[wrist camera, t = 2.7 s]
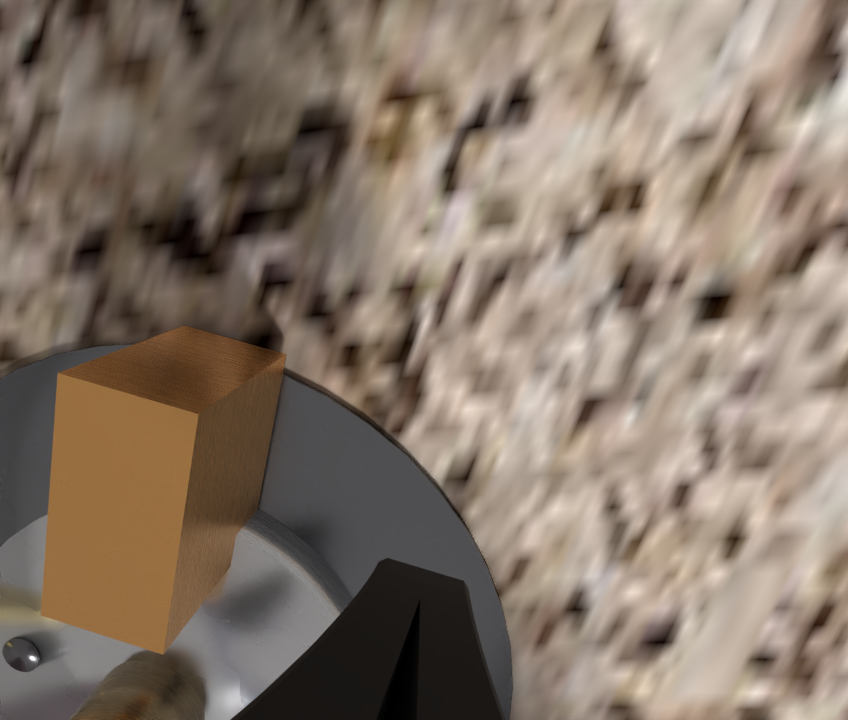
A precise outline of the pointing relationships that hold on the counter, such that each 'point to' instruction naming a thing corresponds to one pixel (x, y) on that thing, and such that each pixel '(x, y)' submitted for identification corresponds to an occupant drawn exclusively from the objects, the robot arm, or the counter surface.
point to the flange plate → (160, 535)
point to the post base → (284, 502)
